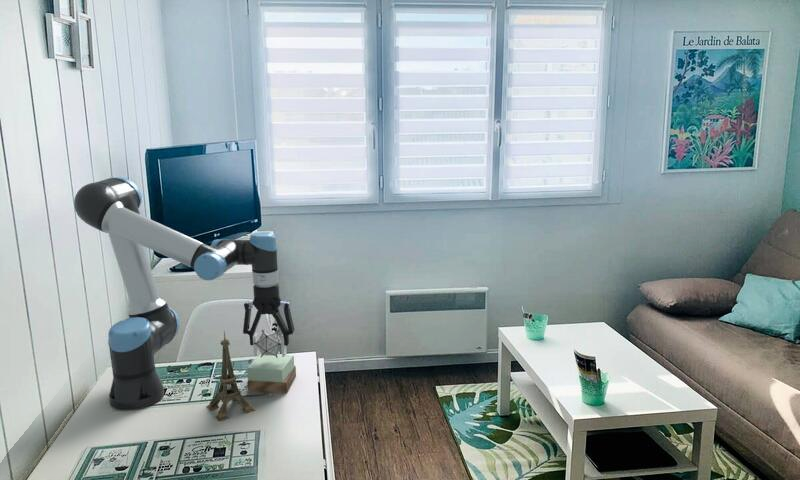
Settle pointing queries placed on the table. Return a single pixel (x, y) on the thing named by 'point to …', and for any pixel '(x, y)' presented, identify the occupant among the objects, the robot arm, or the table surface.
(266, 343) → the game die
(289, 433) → the table surface
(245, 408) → the eiffel tower
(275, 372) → the top block
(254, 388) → the base block
